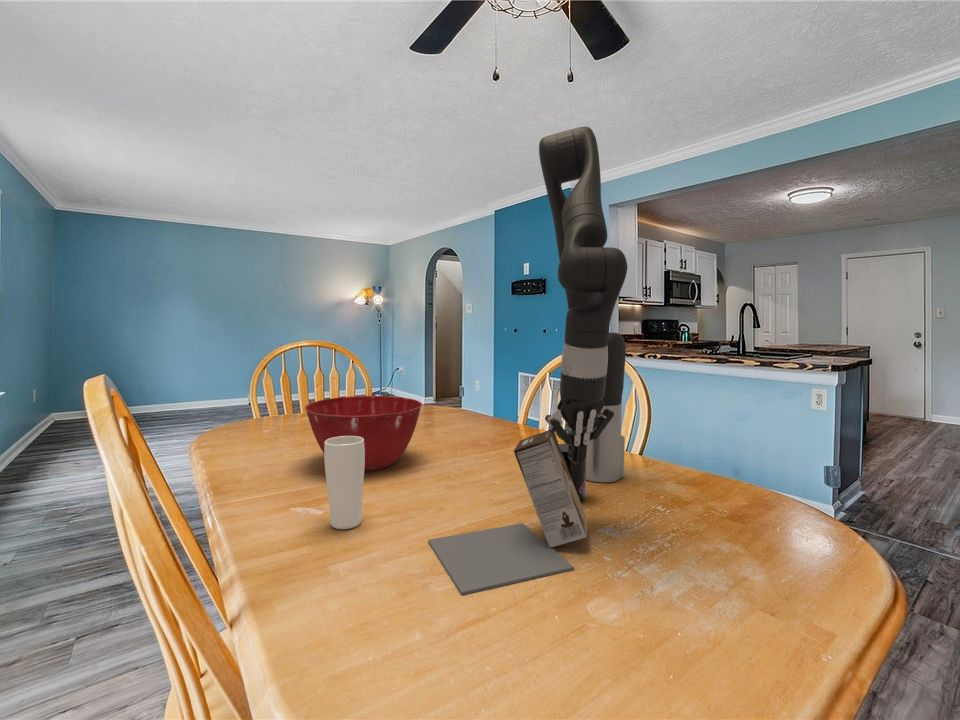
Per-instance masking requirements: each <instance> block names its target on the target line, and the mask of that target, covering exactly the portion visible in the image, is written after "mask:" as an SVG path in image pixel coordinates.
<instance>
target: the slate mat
mask: <svg viewBox="0 0 960 720" xmlns="http://www.w3.org/2000/svg"><path fill="white" fill-rule="evenodd" d="M427 541H428V544H429V546H430V547H431V549H432V551H433V552H434V554H435V555H436V557H437V558H438V560H439V562H440V563H441V565H442V567H443V568H444V570H445V572H446V573H447V574H448V577H449V578H450V579H451V580H452V582H453V584H454V586H455V587H456V590H458V592H459V594H460V595H461V596H466V595H468V594H473V593H477V592H478V593H479V592H482V591H487V590H491V589H494V588H500V587H504V586H508V585H513V584H517V583H521V582H526V581H530V580H535V579H538V578H545V577H547V576H552V575H556V574H560V573H565V572H570V571H574V570H575V566H574V565H573V564H571V563H570V562H569V561H568V560H567V559H566V558H564V557H563V556H562V555H561V554H560V553H559V552H557V551H556V550H555V549H554V548H553V547H552V548H550V547H549V545H548V543H547V542H546V541H544V540H543V538H541V537H539V535H537V533H535V532H534V531H532V530H531V528H529V527H528V526H527V525H526V524H525V523H523V522H521V523H516V524H510V525H504V526H498V527H494V528H487V529H482V530H476V531H475V530H474V531H470V532H465V533H458V534H453V535H452V534H451V535H447V536H441V537H436V538H431V539H428V540H427Z"/></svg>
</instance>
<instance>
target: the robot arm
mask: <svg viewBox="0 0 960 720" xmlns="http://www.w3.org/2000/svg"><path fill="white" fill-rule="evenodd" d="M597 141H598V140H597V138H596V135H595V133H594V130H593V129H592V128H591V127H589V126H579V127H574V128H571V129H567V130H564V131H560V132H557V133H552V134H549V135H546V136H544V137H542V138H541V139H540V141H539V144H538V155H539V156H538V157H539V161H540V162H539V163H540V168H541V172H542V176H543V179H544V184H545V185H544V186H545V189H546V193H547V198H548V200H549V201H548V202H549V206H550V210H551V215H552V218H553V219H552V220H553V225H554V232H555V238H556V246H557V253H558V254H557V255H558V259H559V260H558V261H559V263H558V267H557V279H558V282H559V284H560V286H561V287H562V288H563V289H564V291H565V297H566V302H567V308H568V311H567V312H566V316H565V328H564V329H565V331H564V342H563V347H562V353H561V363H560V364H561V365H560V379H559V380H560V382H559V395H560V397H559V398H560V399H559V402H558V403H557V408H556V410H555V412H554V413H552V415H551V414H547V415H545V418H544V419H545V422H547V424H548V425H549V427H550V428H551V429H553V430H554V433H555V435H556V437H558V439H559V440H561V441H563V442H564V444H567V445H568V458H569V459H570V460H571V461H572V462H573V463H574V464H580V463H583V462H584V460H585V458H586V481H590V482H596V483H614V482H616V481H619V480H620V479H622V478H621V477H623V478H624V477H625V436H624V435H622V408H623V407H622V405H623V404H622V403H623V401H622V400H623V393H624V385H625V384H624V382H625V370H626V369H625V366H626V352H627V350H626V347H627V346H626V342H625V339H624V337H623V335H622V334H620V333H619V332H611V331H610V325H611V319H612V315H613V312H614V309H615V306H616V303H617V301H618V298H619V296H620V292H621V291H622V289H623V285H624V283H625V280H626V277H627V273H628V261H627V257H626V255H625V254H624V252H623V251H622V250H621V249H619V248H617V247H607V246H606V247H604V246H605V245H606V243H607V240H608V229H607V225H606V219H605V214H604V211H603V204H602V187H601V186H602V184H601V180H602V179H601V166H600V165H601V164H600V155H599V149H598V148H599V147H598V142H597ZM577 180H578V181H577ZM572 181H577V183H576V184H575V185H574V187H572V190H571V191H570V193H569V194H568V196H566V194H565V193H564V190H563V188H562V184H565V183H570V182H572ZM563 421H564V422H565V428H566V429H567V431H566V430H565V429H564V427H563V426H562V425H563ZM586 455H587V457H586Z"/></svg>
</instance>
